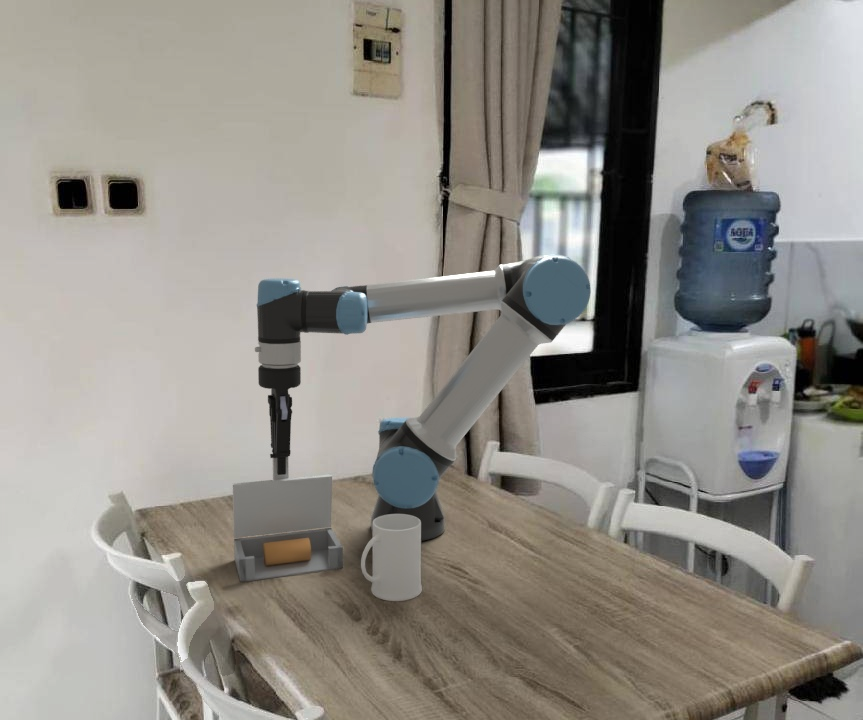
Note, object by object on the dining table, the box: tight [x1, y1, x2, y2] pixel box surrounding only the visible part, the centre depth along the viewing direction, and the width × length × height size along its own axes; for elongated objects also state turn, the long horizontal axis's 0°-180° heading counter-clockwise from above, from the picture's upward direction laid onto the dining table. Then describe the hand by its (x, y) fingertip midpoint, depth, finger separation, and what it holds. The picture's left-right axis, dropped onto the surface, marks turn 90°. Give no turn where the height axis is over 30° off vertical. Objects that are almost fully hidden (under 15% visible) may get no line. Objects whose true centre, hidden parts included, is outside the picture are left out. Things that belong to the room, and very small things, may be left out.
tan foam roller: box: [263, 538, 311, 566], centre depth 139 cm, size 8×4×4 cm
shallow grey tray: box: [233, 527, 344, 583], centre depth 139 cm, size 18×10×4 cm, turn 109°
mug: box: [360, 514, 423, 602], centre depth 127 cm, size 12×8×12 cm
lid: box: [232, 474, 333, 539], centre depth 142 cm, size 18×10×1 cm
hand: (280, 489), depth 143 cm, fingers closed
